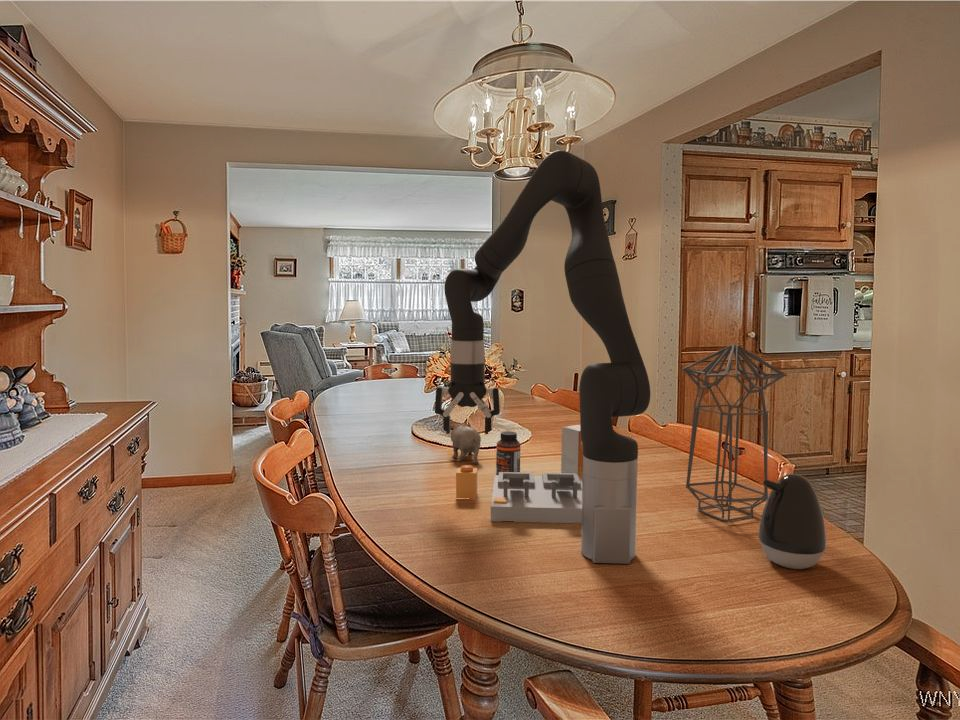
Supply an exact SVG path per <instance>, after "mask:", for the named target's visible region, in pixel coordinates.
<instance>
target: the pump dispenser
mask: <svg viewBox="0 0 960 720" xmlns="http://www.w3.org/2000/svg"><path fill="white" fill-rule="evenodd" d="M762 484H763V486H764V485H765V486H767V487H768V489H771V491H770V493H769V494H768V499H767V500H766V501H765V504H764V508H763V510H762V513H761V518H760V522H759V529H758V540H759V541H760V545H761V547H762V551H763V552H764V554H765V556H766V557H767V558H768V559H769V560H770V561H772V562H773V563H774V564H777V565H779V566H780V567H784V568H787V569H792V570H803V569H808V568H811V567H813V566H815V565H817V563H818V562H820V560H821V558H822V556H823V553H824V551H825V550H827V533H826V530H827V529H826V524H825V518H824V514H823V510H822V505H821V504H820V501H819V497H818V495H817V492H816V491H815V489H814V486H813V485H812V483H811V482H810V480H808V479H807V478H806V477H805V476H803V475H800V474H797V473H789V474H786V475H783V476H781V477H780V478H779V479H778V480H777V481H776V482H775V481H773V480H770V479H768V478H767V479H765V480H763V481H762Z"/></svg>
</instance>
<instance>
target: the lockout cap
mask: <svg viewBox="0 0 960 720" xmlns="http://www.w3.org/2000/svg"><path fill="white" fill-rule="evenodd" d="M477 496H478V467H474V466H473V465H470V464H469V465H468V464H464V465H461V466H460V467H457V469H456V472H455V499H456V498H469V499H476V500H477Z"/></svg>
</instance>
